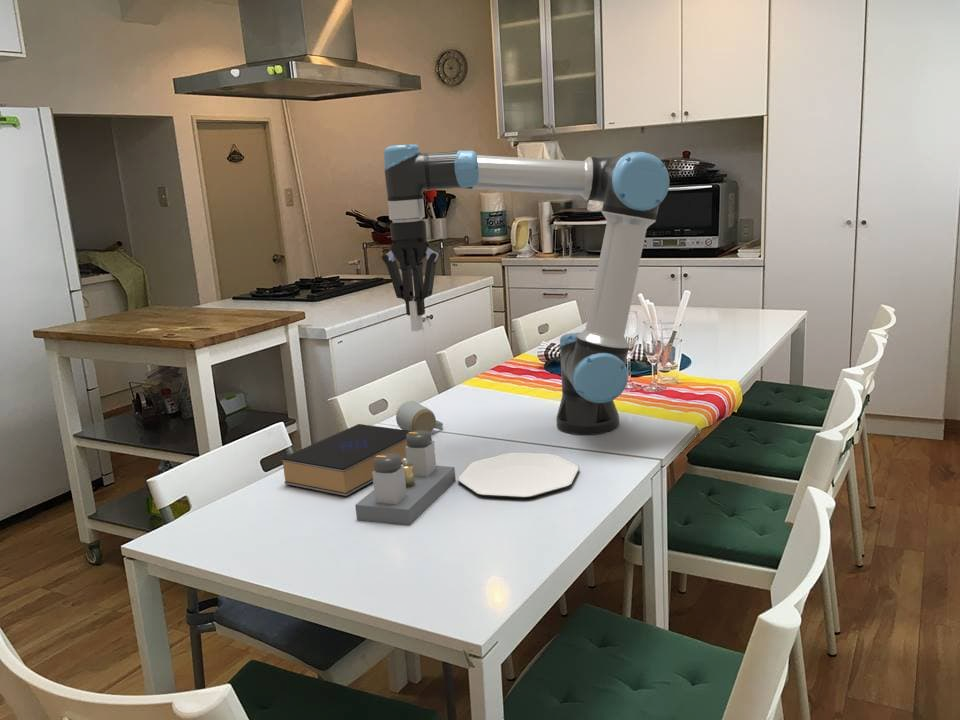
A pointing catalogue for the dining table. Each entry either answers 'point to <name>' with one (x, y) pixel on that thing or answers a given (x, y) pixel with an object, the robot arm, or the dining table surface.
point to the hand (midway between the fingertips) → (417, 329)
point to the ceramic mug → (416, 417)
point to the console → (406, 489)
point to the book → (343, 459)
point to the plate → (518, 475)
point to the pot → (408, 473)
